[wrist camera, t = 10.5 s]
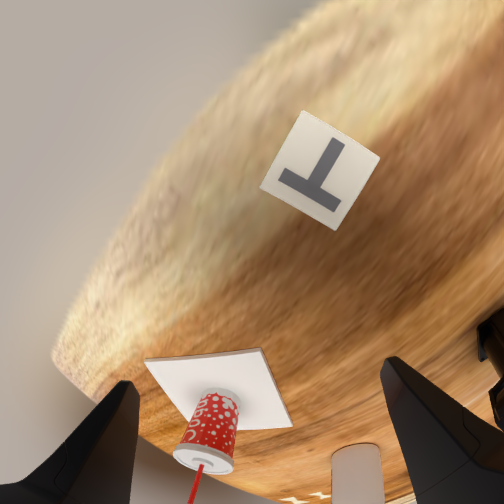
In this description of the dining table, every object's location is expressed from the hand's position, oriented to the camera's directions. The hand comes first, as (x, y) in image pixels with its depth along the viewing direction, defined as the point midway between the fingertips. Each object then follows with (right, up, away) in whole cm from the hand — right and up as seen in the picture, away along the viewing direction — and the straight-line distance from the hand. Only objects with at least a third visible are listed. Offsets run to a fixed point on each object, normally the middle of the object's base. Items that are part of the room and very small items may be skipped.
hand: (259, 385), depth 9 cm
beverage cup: (-4, -13, +21) cm, 25 cm away
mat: (-4, -13, +21) cm, 25 cm away
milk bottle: (+16, -27, +25) cm, 40 cm away
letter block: (+4, +11, +11) cm, 16 cm away
